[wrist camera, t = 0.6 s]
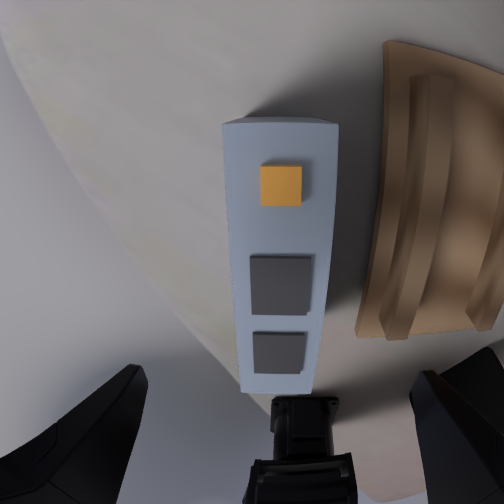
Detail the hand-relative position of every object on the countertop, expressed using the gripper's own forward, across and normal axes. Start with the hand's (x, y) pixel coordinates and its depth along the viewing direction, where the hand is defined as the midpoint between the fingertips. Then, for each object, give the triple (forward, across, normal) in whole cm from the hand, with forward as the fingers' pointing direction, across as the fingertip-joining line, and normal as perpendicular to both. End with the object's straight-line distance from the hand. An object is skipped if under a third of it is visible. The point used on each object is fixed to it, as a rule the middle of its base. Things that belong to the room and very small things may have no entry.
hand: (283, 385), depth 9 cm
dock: (+12, -12, -2) cm, 17 cm away
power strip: (+12, 0, 0) cm, 12 cm away
